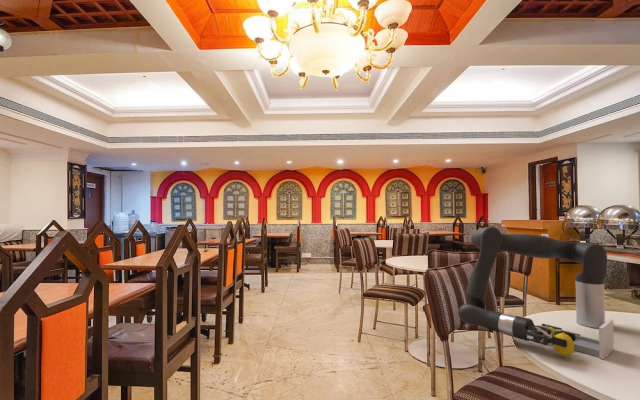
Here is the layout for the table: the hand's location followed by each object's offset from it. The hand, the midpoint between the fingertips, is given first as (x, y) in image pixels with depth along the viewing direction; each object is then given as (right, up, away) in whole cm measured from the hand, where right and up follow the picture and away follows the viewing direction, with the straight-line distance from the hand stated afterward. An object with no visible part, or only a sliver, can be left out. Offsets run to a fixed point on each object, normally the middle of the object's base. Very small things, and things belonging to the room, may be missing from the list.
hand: (571, 340), depth 107 cm
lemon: (-1, -6, +2) cm, 7 cm away
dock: (+6, -6, +15) cm, 17 cm away
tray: (+11, -6, +8) cm, 15 cm away
